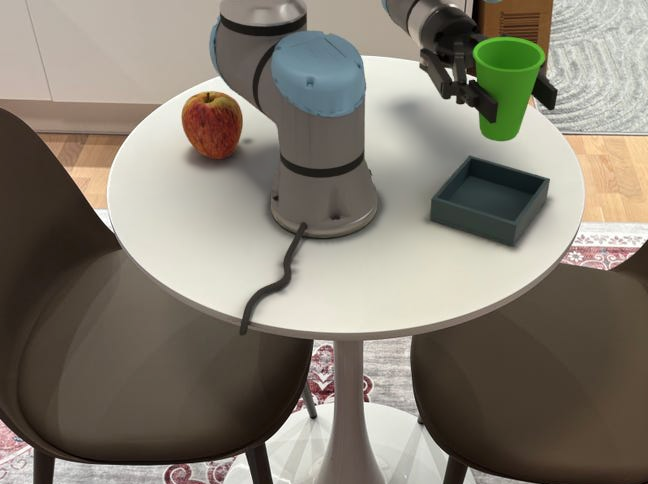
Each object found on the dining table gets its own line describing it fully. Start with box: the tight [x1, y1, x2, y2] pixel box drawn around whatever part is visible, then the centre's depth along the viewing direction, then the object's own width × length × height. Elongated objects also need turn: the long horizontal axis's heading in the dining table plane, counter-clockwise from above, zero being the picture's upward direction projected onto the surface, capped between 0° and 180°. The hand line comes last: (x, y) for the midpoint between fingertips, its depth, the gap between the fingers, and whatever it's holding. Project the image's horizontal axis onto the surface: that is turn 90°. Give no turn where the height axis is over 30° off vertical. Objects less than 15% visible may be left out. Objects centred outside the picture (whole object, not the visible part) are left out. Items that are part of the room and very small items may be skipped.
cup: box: [473, 36, 546, 142], centre depth 109 cm, size 9×9×11 cm
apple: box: [180, 90, 244, 160], centre depth 128 cm, size 9×9×10 cm
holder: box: [429, 154, 551, 247], centre depth 120 cm, size 13×13×4 cm
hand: (524, 106), depth 106 cm, fingers closed on cup, 8 cm apart
